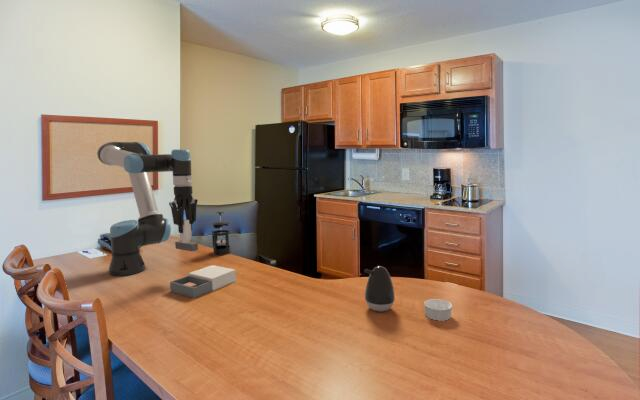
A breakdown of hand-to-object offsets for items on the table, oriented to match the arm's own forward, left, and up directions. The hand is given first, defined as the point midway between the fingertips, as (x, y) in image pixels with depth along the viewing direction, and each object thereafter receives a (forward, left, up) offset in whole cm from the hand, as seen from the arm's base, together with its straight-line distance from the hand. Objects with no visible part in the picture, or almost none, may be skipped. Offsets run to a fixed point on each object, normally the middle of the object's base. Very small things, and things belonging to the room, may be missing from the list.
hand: (186, 239), depth 161 cm
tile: (+15, -12, -14) cm, 24 cm away
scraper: (0, 0, -5) cm, 5 cm away
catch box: (+15, -11, -17) cm, 25 cm away
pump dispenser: (+86, +11, -18) cm, 88 cm away
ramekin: (+105, +15, -18) cm, 107 cm away
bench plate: (+15, +1, -17) cm, 23 cm away
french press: (-18, +37, -18) cm, 45 cm away
